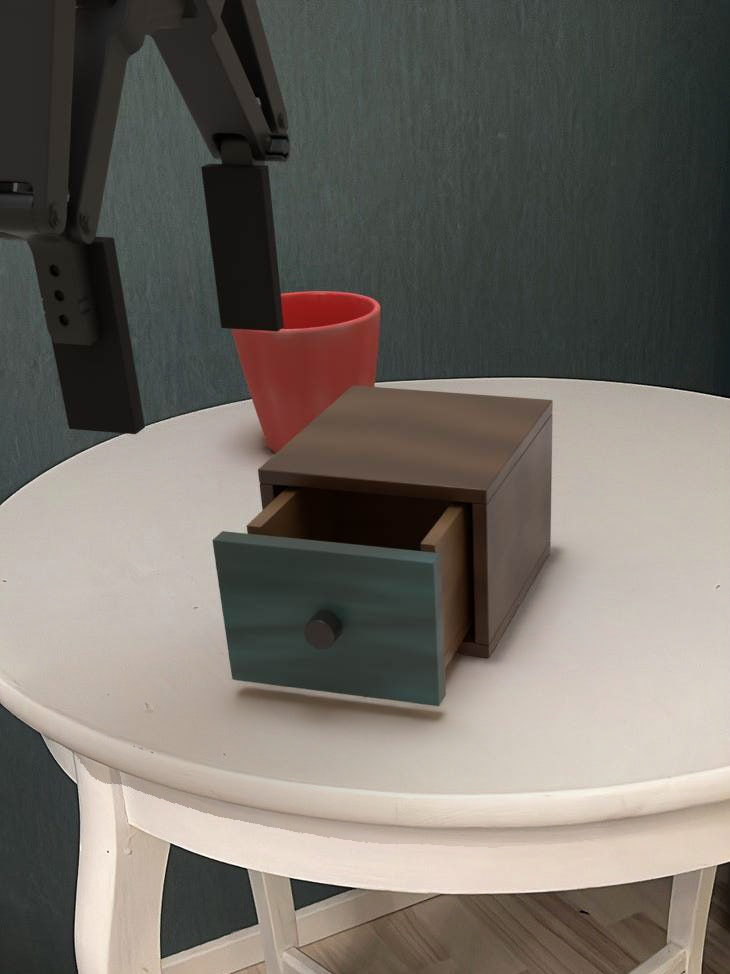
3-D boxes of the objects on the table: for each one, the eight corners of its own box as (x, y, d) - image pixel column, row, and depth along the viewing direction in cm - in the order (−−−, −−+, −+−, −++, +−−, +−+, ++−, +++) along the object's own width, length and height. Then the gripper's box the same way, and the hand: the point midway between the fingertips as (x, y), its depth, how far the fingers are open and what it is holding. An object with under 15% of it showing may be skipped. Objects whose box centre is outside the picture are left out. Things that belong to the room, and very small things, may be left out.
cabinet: (489, 658, 74) (486, 489, 68) (276, 632, 77) (257, 469, 71) (550, 551, 85) (552, 399, 80) (363, 533, 88) (352, 384, 83)
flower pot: (225, 433, 104) (208, 301, 98) (355, 409, 108) (346, 281, 102) (273, 477, 97) (257, 337, 91) (411, 450, 101) (405, 314, 95)
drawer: (432, 718, 67) (425, 573, 63) (222, 691, 70) (201, 549, 65) (507, 593, 79) (507, 462, 74) (324, 573, 81) (313, 446, 77)
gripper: (-26, -373, 32) (127, 493, 44) (338, -288, 51) (373, 299, 64) (-292, -356, 33) (-72, 475, 46) (158, -279, 53) (227, 291, 65)
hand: (187, 374), depth 55 cm, fingers open, 13 cm apart
